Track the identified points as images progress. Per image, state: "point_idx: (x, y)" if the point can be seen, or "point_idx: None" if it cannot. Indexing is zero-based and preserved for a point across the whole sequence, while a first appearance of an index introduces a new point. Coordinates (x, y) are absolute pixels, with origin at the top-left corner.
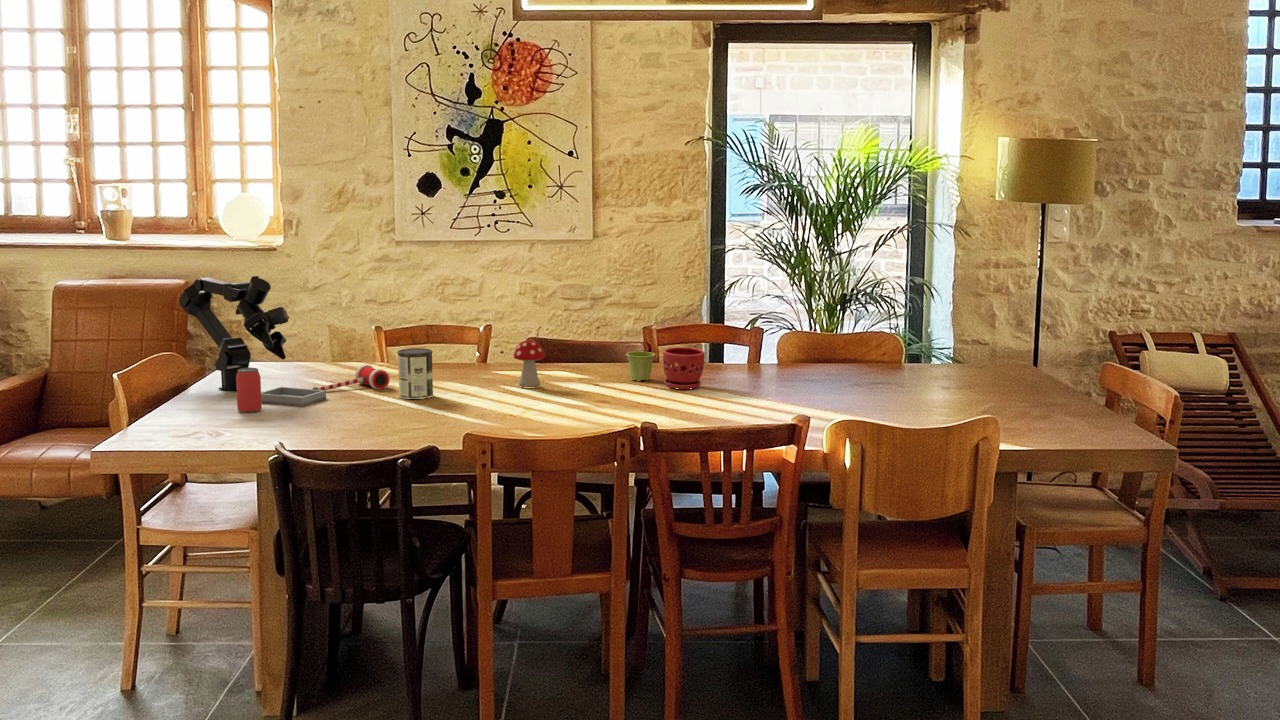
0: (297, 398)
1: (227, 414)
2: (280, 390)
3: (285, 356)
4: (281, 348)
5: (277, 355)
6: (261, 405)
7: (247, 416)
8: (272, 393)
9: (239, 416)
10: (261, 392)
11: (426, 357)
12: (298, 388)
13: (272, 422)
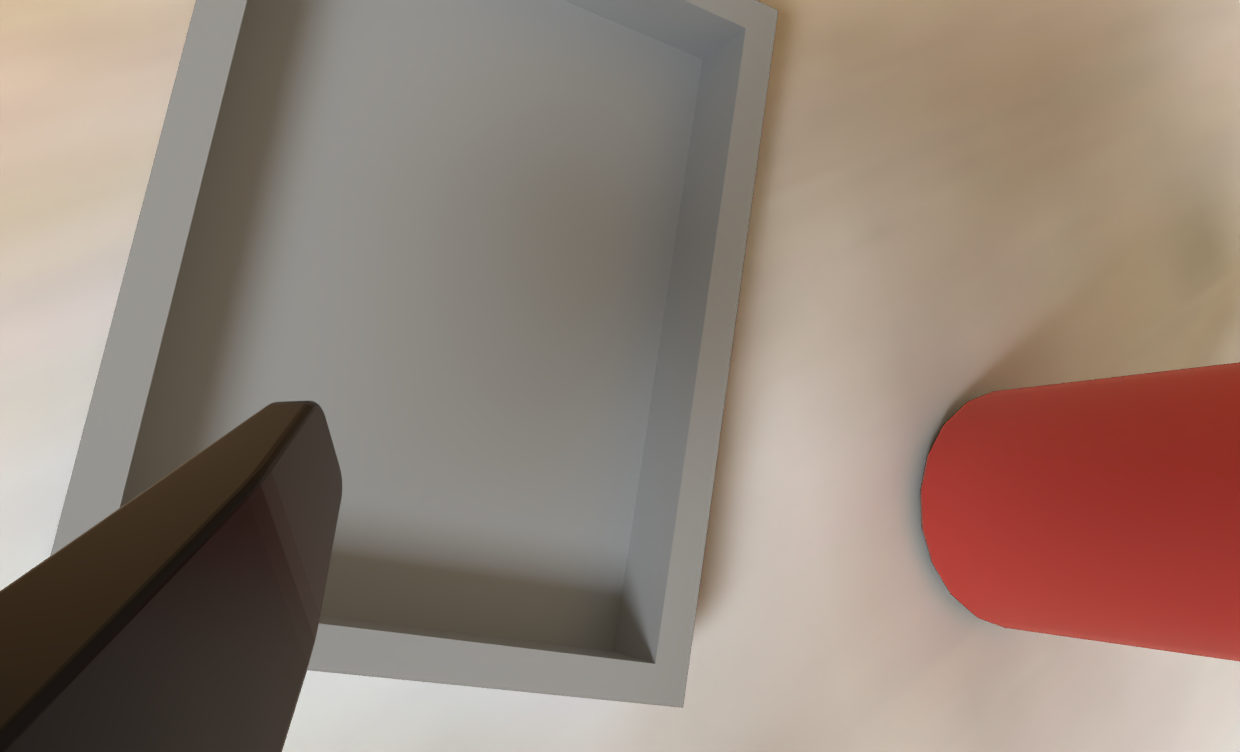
0: (761, 76)
1: None
2: None
3: (258, 420)
4: (100, 687)
5: (289, 721)
6: (998, 395)
7: None
8: (356, 623)
9: None
10: (590, 682)
11: None
12: (159, 248)
13: (1230, 135)
